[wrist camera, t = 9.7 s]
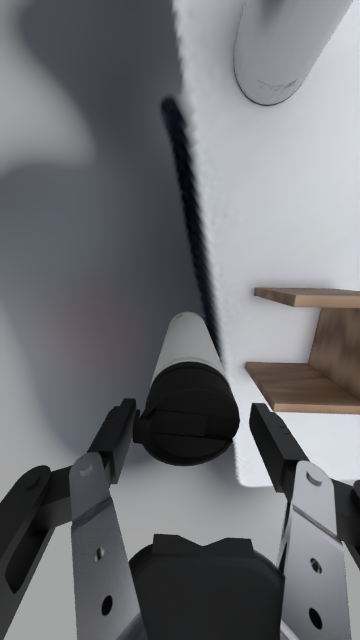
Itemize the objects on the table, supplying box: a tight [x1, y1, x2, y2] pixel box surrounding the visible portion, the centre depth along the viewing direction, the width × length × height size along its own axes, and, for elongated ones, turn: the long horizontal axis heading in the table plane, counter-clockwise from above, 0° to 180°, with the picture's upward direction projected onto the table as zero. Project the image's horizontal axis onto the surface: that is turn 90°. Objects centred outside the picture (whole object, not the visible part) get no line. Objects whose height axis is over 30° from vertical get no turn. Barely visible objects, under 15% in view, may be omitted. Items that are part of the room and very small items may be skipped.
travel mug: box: [132, 311, 240, 466], centre depth 19 cm, size 6×7×20 cm
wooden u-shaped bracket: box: [245, 288, 360, 414], centre depth 23 cm, size 14×12×10 cm
